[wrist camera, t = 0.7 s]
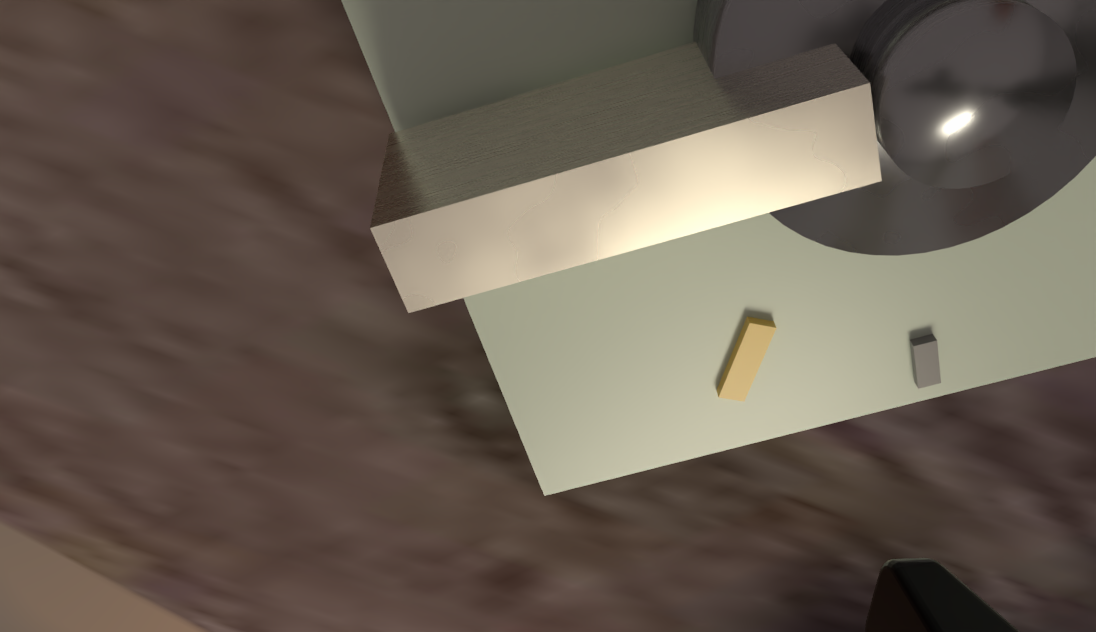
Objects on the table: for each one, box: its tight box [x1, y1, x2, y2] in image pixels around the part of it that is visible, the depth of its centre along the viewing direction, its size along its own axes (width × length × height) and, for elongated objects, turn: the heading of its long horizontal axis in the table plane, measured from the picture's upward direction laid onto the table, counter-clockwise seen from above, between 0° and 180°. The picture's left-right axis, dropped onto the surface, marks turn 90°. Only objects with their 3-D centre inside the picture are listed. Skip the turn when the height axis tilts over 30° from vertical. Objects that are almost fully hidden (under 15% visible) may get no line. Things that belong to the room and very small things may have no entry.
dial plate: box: [341, 0, 1096, 496], centre depth 18 cm, size 18×18×1 cm
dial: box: [370, 0, 1096, 313], centre depth 16 cm, size 12×7×4 cm, turn 106°
